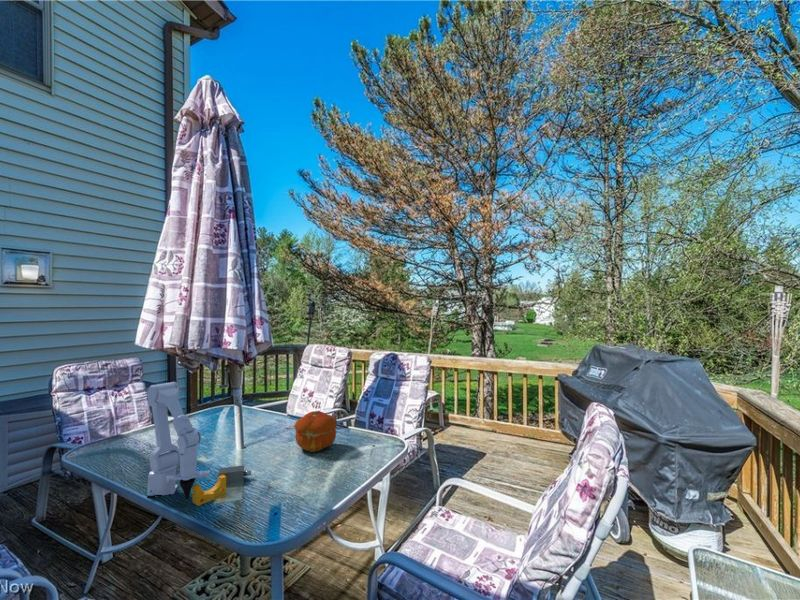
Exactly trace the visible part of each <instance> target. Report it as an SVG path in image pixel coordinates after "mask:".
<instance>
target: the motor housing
mask: <svg viewBox="0 0 800 600" xmlns="http://www.w3.org/2000/svg"><path fill="white" fill-rule="evenodd" d="M221 475H224V476H226V493H223V494H221V495H218V496H216V497H215V499H214V500H213V505H215V504H221V503H223V504H224V503H229V502H236V501H242V498H243V491H244V490H243V489H244V480H245V477H246V476H251V475H252V470H245V465H235V466H227V467H226V466H225V467H220V468H219V470H218V476H221Z"/></svg>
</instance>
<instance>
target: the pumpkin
mask: <svg viewBox="0 0 800 600" xmlns="http://www.w3.org/2000/svg"><path fill="white" fill-rule="evenodd" d="M337 426H338V420H337V419H336V417H334V416H333V415H331V414H327V413H326V412H323V411H320V410H314V411H310V412H308V413H306V414H304V416H301V417H300V418H299V419H297V420H296V421H295V423H294V430H295V441H296V444H297V445H298V446H299V448H301V449H303V450H305V451H307V452H311V453H316V451H317V452H319V451H322V450H324V449H326V448H328V447H330V446H332V445H333V443H334V442H335V440H336V436H337V430H336V428H338V427H337Z"/></svg>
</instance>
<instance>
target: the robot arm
mask: <svg viewBox="0 0 800 600" xmlns="http://www.w3.org/2000/svg"><path fill="white" fill-rule="evenodd" d="M146 394H147V402H148V406H149V407H151V410H152V417H153V425H154V431H155V440H156V447H155V449H154V450H153V451H152V452H151V453H150V455H149V457H150V459H149V460H150V461H149V468H150V470H151V471H149V473H148V476H147V489H146V491H147V495H153V494H155V495H162V496H167V495H168V496H169V494H170V495H174V494H175V492H176V490H177V488H178V486H180V487H181V489H182V491H183V494H184V498H185V500H189V499H190V495H191V490H192V489H193V485H195V484H194V483H195V481H196V479H202V478H203V479H204V478H206V479H208V478H209V477H210V470H197V466H198V464H197V462H198V445H199V444H200V443H201V440H202V437H201V436H202V435H201V433H200V431H199V430H198V429H196V428H195V427H193V424H192V422H191V419H190V418H189V416H188V415H187V414H184V412H183V409H182V405H181V403H180V401H179V400H180V399H179V394H180V388H179V385H178V383H177V382H176V381H171V382H166V383H159V384H151V385H150V386H149V387H148V389H147V391H146ZM168 410H169V413H170V414H171V416H172V417H173V421H172V425H173V428H174V430H175V432H176V434H177V437H178V438H177V440H176V442H177V445H175V444H173V443H172V439H171V438H172V437H171V430H170V423H169V415H168ZM178 465H179V473H176V469H177V468H178ZM178 481H179V485H178V484H176V482H178ZM150 491H152V492H150ZM147 495H146V496H147Z"/></svg>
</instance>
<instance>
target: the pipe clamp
mask: <svg viewBox="0 0 800 600" xmlns="http://www.w3.org/2000/svg"><path fill="white" fill-rule="evenodd" d="M223 493H226V476H224V475H221V476H218V477H217V481H216V483H215V484H214V486H213V487H212V488H210V489H207V490H203V488H202V485H201V484H200V483H197V484H193V486H192V503H193V504H195V505H196V506H197V507H198V506H199V507H200V506H201V505H204V504H205V503H209V502H211V501H214V500H215V497H216V496H218V495H221V494H223Z"/></svg>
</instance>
